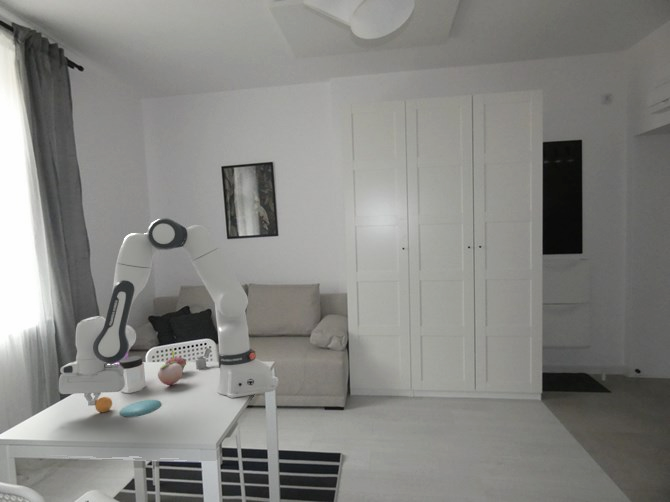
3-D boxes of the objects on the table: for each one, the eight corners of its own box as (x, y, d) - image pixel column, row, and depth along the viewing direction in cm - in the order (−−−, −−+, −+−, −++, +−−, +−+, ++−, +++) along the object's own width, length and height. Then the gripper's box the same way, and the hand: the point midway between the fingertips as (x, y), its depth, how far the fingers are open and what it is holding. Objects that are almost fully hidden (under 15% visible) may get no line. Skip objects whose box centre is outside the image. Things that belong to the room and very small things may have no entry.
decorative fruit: (173, 390, 153) (171, 364, 152) (155, 389, 155) (153, 364, 154) (188, 381, 162) (186, 357, 161) (171, 380, 164) (169, 356, 163)
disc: (166, 398, 145) (166, 398, 145) (152, 414, 132) (152, 414, 132) (129, 402, 144) (129, 401, 144) (111, 418, 131) (111, 417, 131)
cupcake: (182, 377, 168) (179, 348, 167) (162, 378, 168) (159, 350, 167) (189, 370, 176) (187, 343, 176) (170, 371, 176) (168, 344, 176)
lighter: (198, 369, 176) (197, 351, 176) (196, 369, 177) (194, 351, 177) (212, 364, 182) (210, 347, 182) (209, 364, 183) (208, 347, 183)
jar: (121, 395, 151) (118, 363, 151) (119, 389, 158) (116, 359, 158) (147, 389, 156) (144, 358, 156) (144, 383, 163) (141, 354, 163)
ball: (108, 411, 140) (117, 399, 140) (102, 417, 135) (111, 405, 135) (96, 403, 139) (105, 391, 139) (89, 409, 134) (98, 397, 134)
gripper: (127, 360, 140) (128, 400, 141) (66, 362, 139) (67, 402, 139) (118, 366, 134) (120, 407, 134) (55, 368, 133) (56, 410, 133)
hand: (93, 404), depth 137 cm, fingers closed
